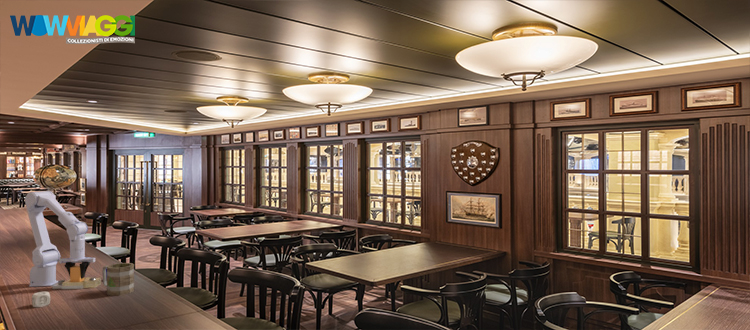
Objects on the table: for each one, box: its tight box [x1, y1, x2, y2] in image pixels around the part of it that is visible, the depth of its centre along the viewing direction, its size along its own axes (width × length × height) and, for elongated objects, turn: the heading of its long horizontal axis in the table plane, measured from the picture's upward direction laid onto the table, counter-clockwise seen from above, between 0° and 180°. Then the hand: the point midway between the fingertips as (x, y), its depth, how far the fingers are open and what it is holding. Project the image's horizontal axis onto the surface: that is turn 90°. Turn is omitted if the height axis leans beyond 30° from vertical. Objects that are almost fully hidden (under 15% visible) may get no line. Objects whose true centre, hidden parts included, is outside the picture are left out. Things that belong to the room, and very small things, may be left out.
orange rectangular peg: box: [69, 265, 85, 282], centre depth 204 cm, size 4×4×8 cm
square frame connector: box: [51, 276, 102, 290], centre depth 204 cm, size 18×8×4 cm, turn 100°
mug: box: [102, 262, 135, 297], centre depth 197 cm, size 16×11×12 cm
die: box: [31, 291, 51, 308], centre depth 178 cm, size 5×5×5 cm
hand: (77, 278), depth 204 cm, fingers closed on orange rectangular peg, 4 cm apart
